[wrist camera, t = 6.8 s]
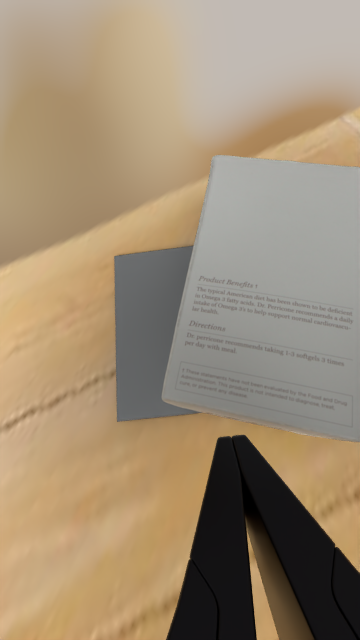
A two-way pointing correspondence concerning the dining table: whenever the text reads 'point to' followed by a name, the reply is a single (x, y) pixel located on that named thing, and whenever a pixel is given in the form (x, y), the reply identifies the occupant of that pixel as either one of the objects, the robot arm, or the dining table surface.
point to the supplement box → (273, 300)
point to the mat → (147, 328)
